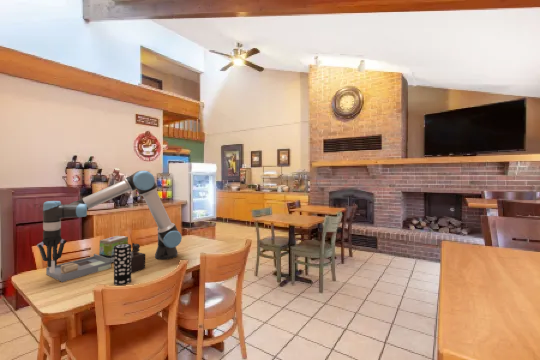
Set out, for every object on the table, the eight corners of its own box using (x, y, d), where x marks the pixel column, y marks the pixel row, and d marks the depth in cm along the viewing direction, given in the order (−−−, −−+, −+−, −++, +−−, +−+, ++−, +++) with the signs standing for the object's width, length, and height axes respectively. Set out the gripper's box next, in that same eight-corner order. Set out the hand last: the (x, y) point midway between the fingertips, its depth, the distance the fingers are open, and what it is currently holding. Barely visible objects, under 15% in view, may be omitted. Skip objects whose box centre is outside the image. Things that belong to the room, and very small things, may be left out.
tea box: (111, 263, 175) (111, 241, 175) (98, 262, 177) (98, 240, 177) (128, 256, 190) (128, 235, 190) (116, 255, 192) (116, 235, 192)
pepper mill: (118, 270, 163) (118, 241, 162) (135, 265, 173) (135, 237, 172) (135, 275, 156) (135, 245, 155) (151, 269, 165) (151, 240, 165)
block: (77, 271, 154) (77, 264, 154) (65, 274, 149) (65, 267, 149) (73, 269, 157) (72, 262, 157) (60, 272, 152) (60, 265, 152)
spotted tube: (110, 283, 144) (110, 247, 143) (123, 278, 152) (123, 243, 151) (121, 286, 141) (121, 248, 141) (134, 280, 149) (134, 244, 148)
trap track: (110, 267, 167) (110, 259, 167) (61, 282, 145) (61, 272, 145) (94, 261, 178) (94, 253, 178) (46, 274, 156) (46, 265, 155)
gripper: (63, 226, 153) (63, 267, 154) (34, 230, 142) (34, 274, 143) (69, 228, 149) (69, 270, 150) (39, 232, 138) (39, 277, 139)
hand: (52, 272), depth 146 cm, fingers closed
